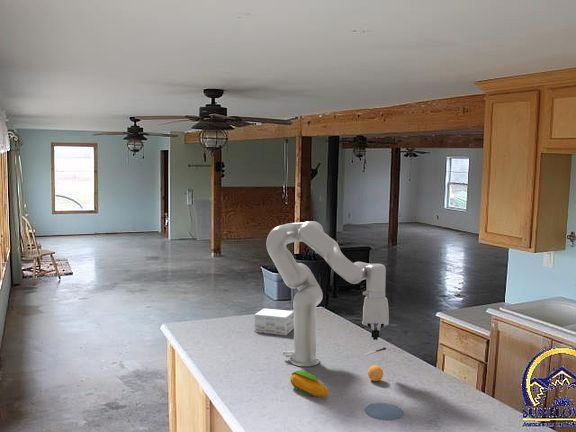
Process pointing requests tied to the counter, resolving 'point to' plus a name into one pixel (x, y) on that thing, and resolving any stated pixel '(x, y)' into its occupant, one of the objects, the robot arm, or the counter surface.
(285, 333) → the supplement box
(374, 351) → the chef's knife
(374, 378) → the ball
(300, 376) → the corn
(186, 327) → the counter surface
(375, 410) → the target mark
